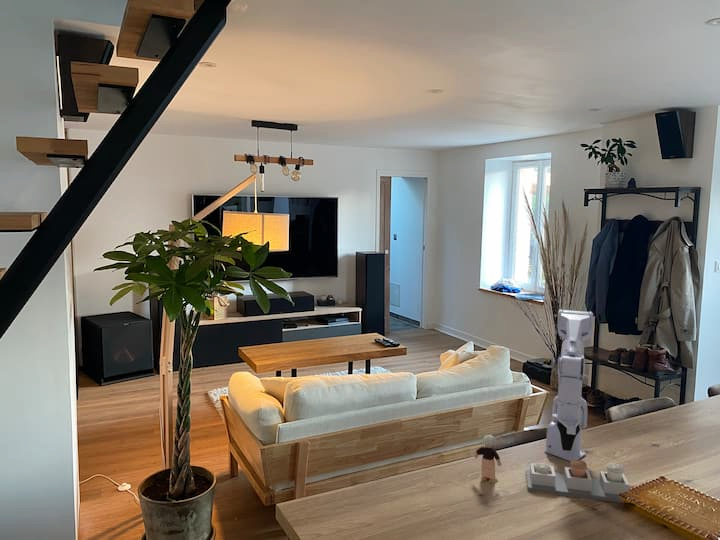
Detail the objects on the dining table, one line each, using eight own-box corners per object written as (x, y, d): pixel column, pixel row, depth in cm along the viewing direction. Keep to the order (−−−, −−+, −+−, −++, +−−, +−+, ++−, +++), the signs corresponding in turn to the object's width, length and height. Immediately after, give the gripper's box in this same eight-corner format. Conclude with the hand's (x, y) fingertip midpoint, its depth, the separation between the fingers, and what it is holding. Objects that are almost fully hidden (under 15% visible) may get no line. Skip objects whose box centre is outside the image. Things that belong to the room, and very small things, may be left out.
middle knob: (571, 478, 143) (571, 465, 143) (568, 470, 147) (569, 458, 147) (587, 480, 142) (587, 467, 142) (584, 472, 146) (585, 460, 146)
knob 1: (535, 481, 146) (535, 469, 145) (534, 474, 150) (534, 462, 149) (550, 483, 145) (551, 470, 144) (549, 476, 149) (549, 464, 148)
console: (527, 490, 143) (528, 476, 143) (525, 472, 153) (526, 459, 153) (634, 504, 137) (635, 489, 137) (625, 484, 147) (626, 470, 147)
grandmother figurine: (502, 479, 150) (504, 435, 148) (499, 485, 146) (501, 440, 145) (474, 473, 153) (476, 430, 151) (471, 479, 149) (473, 435, 148)
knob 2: (607, 482, 141) (608, 469, 141) (604, 475, 145) (605, 462, 145) (624, 484, 140) (625, 471, 140) (620, 477, 144) (621, 464, 144)
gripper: (551, 390, 151) (548, 436, 153) (555, 408, 137) (553, 459, 139) (577, 392, 149) (575, 439, 151) (585, 411, 135) (582, 463, 137)
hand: (566, 449), depth 145 cm, fingers closed
